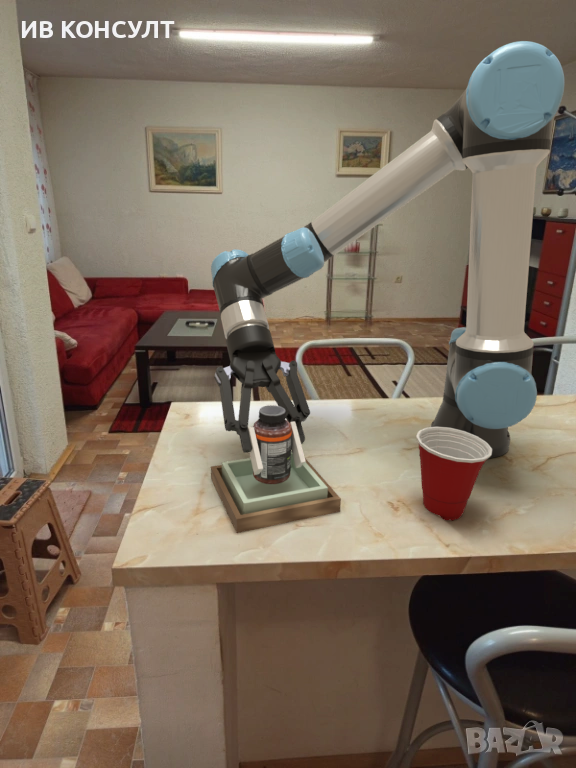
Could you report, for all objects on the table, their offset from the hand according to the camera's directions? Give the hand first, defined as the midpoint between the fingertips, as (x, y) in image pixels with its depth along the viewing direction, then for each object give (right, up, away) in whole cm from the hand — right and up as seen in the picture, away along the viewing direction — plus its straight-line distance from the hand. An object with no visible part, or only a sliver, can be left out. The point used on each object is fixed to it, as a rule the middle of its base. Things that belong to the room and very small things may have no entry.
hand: (280, 467), depth 76 cm
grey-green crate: (-1, -5, +5) cm, 7 cm away
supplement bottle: (-1, -2, +4) cm, 5 cm away
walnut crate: (-1, -6, +5) cm, 8 cm away
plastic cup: (+25, -7, +3) cm, 27 cm away
